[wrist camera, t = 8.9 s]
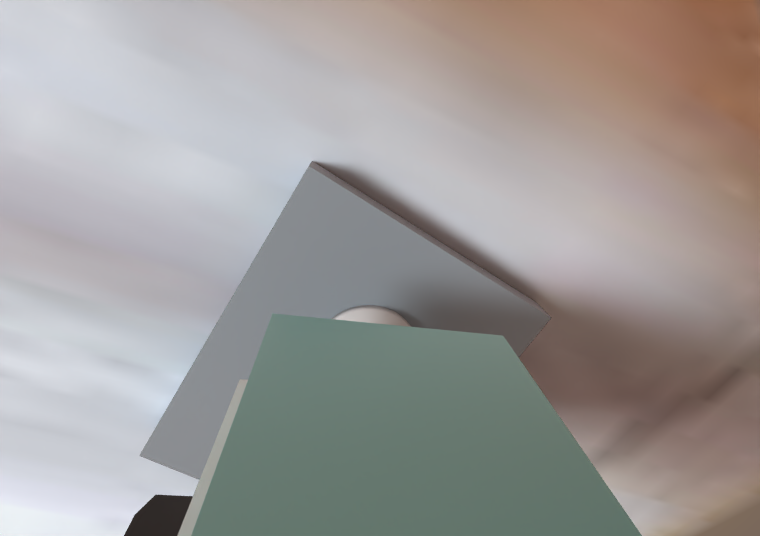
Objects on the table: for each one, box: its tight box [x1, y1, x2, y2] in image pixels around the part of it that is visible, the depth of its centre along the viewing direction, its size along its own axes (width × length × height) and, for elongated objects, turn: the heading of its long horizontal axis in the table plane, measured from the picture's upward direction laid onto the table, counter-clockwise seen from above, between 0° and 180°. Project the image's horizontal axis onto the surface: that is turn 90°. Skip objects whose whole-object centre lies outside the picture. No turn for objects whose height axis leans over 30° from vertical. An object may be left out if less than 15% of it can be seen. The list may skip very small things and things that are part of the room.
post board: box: [140, 161, 551, 480], centre depth 16 cm, size 11×14×6 cm
